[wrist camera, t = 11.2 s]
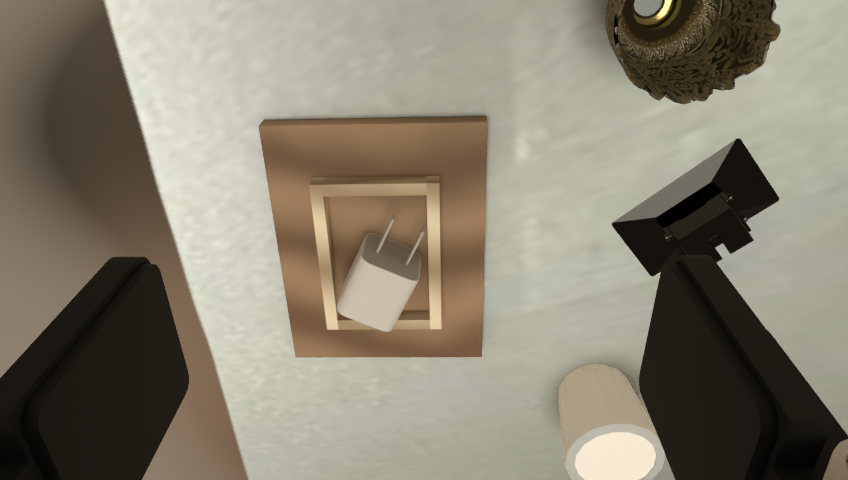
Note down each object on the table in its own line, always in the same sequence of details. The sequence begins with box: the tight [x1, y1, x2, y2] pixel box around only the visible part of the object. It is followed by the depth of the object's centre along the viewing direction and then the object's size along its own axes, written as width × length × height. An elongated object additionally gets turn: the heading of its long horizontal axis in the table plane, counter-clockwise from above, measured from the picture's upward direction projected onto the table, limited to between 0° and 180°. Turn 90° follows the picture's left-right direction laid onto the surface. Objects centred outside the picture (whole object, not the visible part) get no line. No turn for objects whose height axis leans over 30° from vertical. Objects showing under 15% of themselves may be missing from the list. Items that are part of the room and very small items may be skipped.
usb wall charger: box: [336, 215, 424, 332], centre depth 39 cm, size 4×7×4 cm, turn 155°
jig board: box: [259, 116, 487, 357], centre depth 41 cm, size 18×14×2 cm
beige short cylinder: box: [558, 364, 665, 480], centre depth 45 cm, size 7×7×7 cm
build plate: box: [612, 139, 779, 276], centre depth 39 cm, size 12×7×5 cm, turn 130°
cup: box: [606, 0, 781, 104], centre depth 31 cm, size 8×7×8 cm
